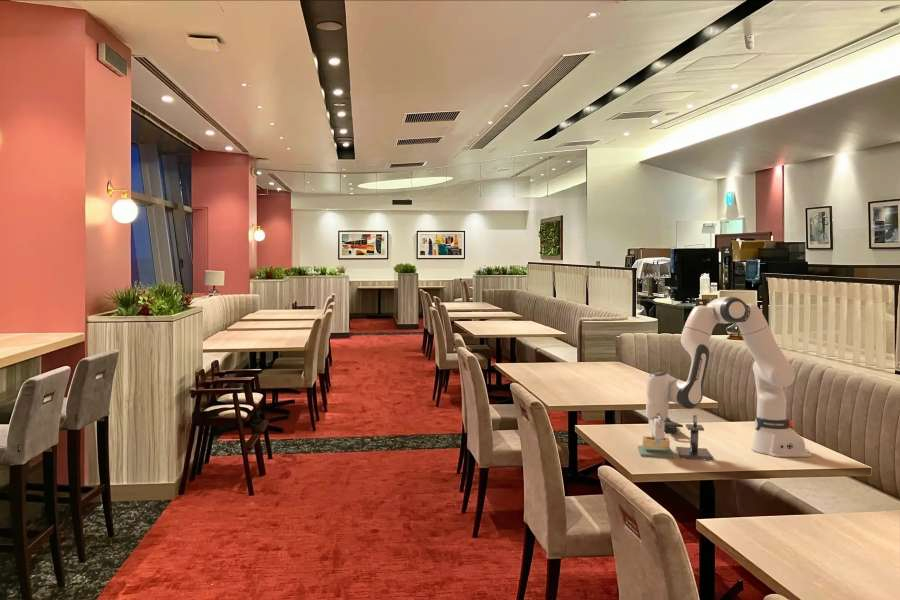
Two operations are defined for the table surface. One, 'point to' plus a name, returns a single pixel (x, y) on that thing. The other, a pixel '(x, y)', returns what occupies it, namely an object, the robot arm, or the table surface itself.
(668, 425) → the zipper pull
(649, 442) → the wooden rectangular frame
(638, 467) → the table surface
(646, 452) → the rubber mat
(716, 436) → the table surface
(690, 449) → the pin stand
